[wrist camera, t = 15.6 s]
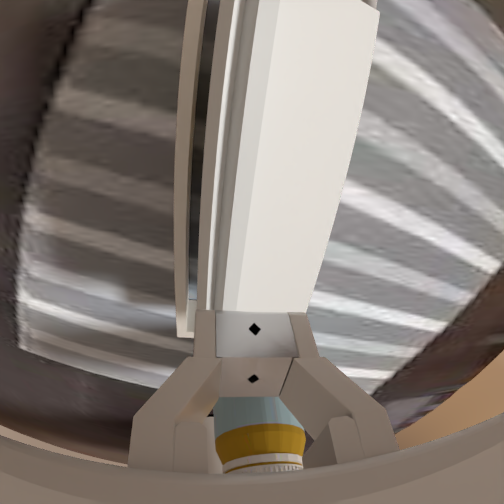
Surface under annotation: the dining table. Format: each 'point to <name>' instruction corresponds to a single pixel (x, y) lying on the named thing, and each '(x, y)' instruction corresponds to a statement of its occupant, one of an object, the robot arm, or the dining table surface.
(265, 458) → the bottle
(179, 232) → the white long shallow tray
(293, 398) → the robot arm
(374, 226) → the dining table surface
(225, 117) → the cover
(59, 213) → the dining table surface
